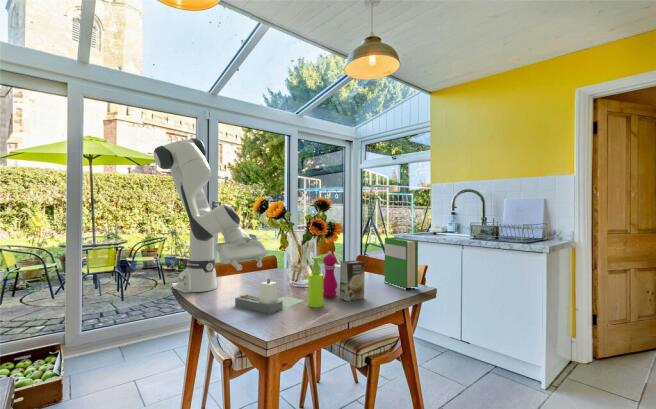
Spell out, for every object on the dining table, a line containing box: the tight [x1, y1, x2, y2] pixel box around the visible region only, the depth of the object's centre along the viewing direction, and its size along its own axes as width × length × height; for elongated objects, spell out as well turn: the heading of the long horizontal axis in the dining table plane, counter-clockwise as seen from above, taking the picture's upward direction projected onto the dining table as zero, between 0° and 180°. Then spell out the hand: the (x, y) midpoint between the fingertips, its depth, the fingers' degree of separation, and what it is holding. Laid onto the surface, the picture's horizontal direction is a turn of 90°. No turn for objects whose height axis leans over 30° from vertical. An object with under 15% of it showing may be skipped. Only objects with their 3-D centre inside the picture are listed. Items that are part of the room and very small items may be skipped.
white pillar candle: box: [259, 278, 278, 304], centre depth 122 cm, size 4×4×12 cm
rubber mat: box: [277, 296, 306, 308], centre depth 132 cm, size 11×11×1 cm
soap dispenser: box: [307, 255, 325, 308], centre depth 128 cm, size 6×7×20 cm
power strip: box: [234, 293, 284, 315], centre depth 124 cm, size 18×7×5 cm, turn 58°
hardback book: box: [384, 236, 419, 289], centre depth 164 cm, size 18×7×24 cm, turn 24°
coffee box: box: [339, 260, 366, 302], centre depth 141 cm, size 9×6×16 cm
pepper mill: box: [322, 250, 338, 298], centre depth 146 cm, size 7×7×20 cm
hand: (250, 267), depth 128 cm, fingers open, 8 cm apart
